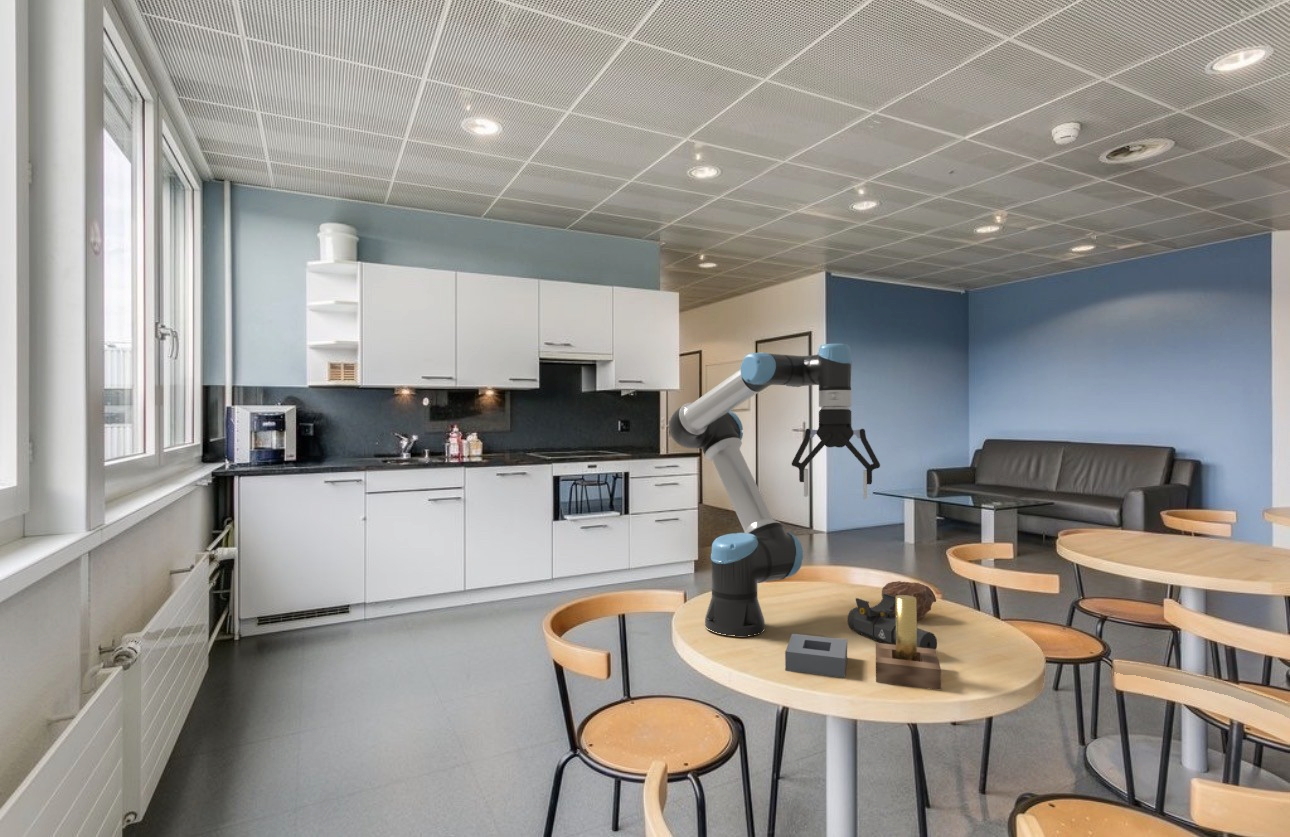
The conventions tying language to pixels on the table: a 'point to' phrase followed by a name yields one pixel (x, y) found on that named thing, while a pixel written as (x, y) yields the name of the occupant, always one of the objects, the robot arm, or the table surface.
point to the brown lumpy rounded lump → (912, 589)
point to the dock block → (908, 668)
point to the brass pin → (906, 628)
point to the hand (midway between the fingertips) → (835, 497)
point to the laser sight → (883, 623)
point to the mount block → (816, 655)
